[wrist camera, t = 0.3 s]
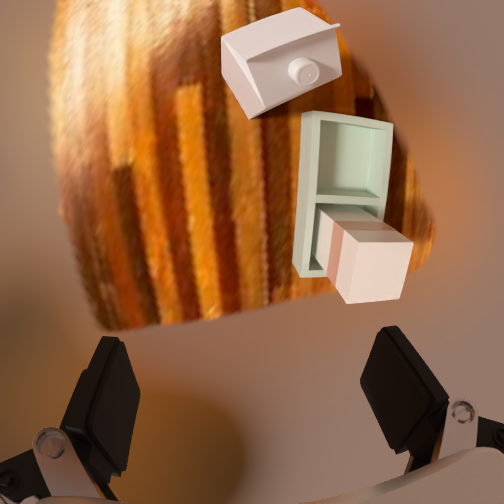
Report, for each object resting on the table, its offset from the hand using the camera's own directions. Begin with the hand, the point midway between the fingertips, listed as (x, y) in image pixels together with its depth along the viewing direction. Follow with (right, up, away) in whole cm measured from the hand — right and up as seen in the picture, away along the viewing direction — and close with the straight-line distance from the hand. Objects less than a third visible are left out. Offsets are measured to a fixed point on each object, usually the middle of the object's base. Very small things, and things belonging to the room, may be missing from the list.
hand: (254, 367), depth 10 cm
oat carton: (+11, +7, +30) cm, 33 cm away
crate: (+11, +12, +28) cm, 33 cm away
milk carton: (+1, +25, +22) cm, 33 cm away
